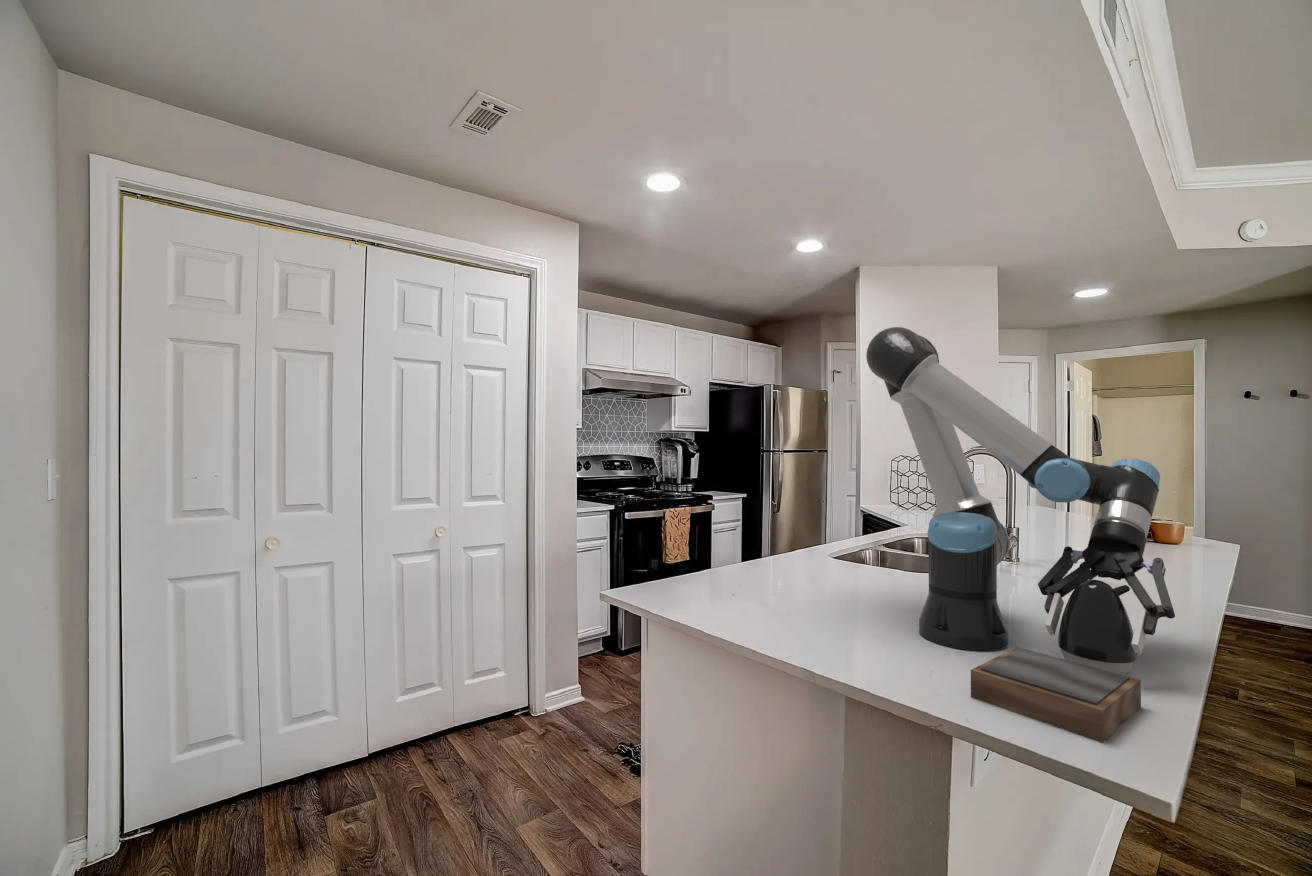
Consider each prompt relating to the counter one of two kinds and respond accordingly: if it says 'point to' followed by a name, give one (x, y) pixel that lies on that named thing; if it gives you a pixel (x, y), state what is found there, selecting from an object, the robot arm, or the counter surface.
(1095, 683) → the walnut riser
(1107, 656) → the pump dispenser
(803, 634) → the counter surface
